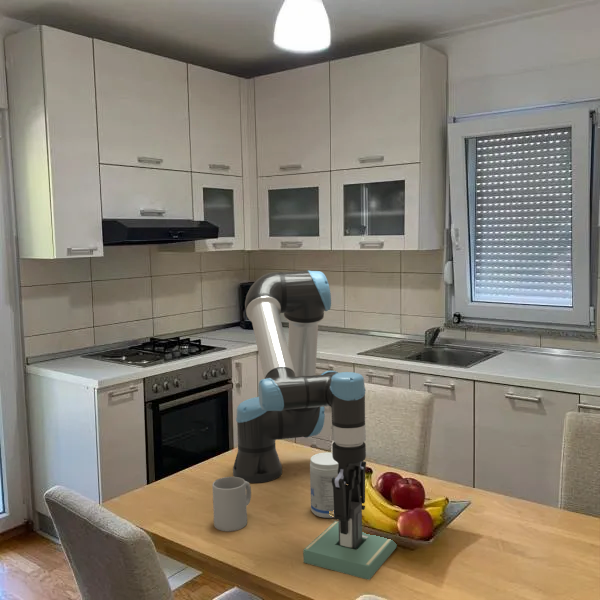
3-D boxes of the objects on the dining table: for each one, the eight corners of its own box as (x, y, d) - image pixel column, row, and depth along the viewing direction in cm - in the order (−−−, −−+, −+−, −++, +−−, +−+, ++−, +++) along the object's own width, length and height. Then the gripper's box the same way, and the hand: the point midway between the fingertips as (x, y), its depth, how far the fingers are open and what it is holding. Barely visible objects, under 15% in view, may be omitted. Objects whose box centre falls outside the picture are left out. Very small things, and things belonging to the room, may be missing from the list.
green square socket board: (335, 532, 156) (335, 520, 156) (396, 546, 148) (396, 534, 148) (303, 562, 142) (303, 549, 142) (369, 579, 134) (368, 566, 134)
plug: (346, 536, 147) (345, 498, 147) (363, 540, 145) (362, 502, 144) (338, 544, 144) (338, 505, 143) (356, 548, 142) (355, 509, 141)
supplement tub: (308, 505, 172) (306, 453, 170) (342, 502, 174) (340, 450, 172) (314, 521, 162) (313, 465, 161) (350, 517, 164) (349, 462, 163)
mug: (231, 534, 156) (229, 492, 155) (206, 526, 161) (205, 484, 160) (262, 516, 166) (261, 476, 165) (238, 509, 171) (237, 469, 170)
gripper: (350, 429, 152) (351, 522, 154) (316, 451, 137) (318, 554, 139) (379, 433, 148) (380, 529, 150) (347, 456, 133) (349, 562, 135)
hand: (350, 541), depth 145 cm, fingers closed on plug, 4 cm apart
